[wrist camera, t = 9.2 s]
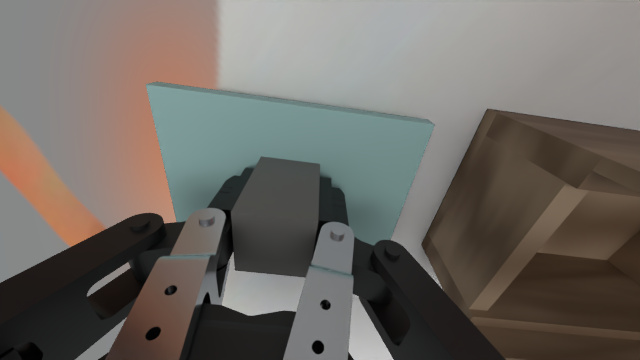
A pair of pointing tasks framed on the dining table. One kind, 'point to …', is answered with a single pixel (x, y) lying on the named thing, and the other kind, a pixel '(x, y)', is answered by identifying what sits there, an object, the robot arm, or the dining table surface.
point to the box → (545, 238)
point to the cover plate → (290, 133)
